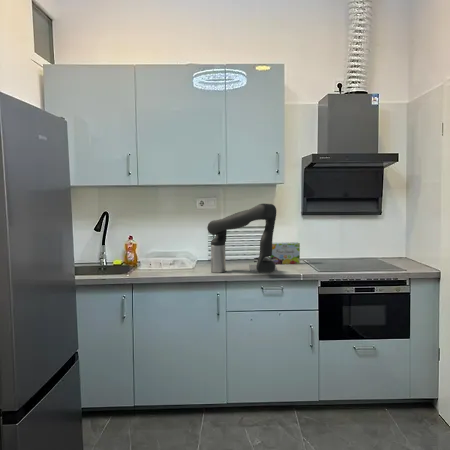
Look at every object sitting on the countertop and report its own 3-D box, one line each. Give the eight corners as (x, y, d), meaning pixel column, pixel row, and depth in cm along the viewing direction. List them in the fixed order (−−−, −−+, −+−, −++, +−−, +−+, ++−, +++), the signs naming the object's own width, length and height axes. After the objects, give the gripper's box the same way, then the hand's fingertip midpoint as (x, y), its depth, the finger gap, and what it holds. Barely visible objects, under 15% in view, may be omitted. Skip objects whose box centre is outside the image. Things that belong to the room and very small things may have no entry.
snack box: (270, 264, 300) (270, 243, 299) (268, 263, 305) (268, 242, 304) (299, 264, 301) (299, 242, 300) (298, 262, 307) (297, 241, 306)
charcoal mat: (249, 272, 270) (249, 271, 270) (249, 265, 298) (249, 264, 298) (278, 272, 269) (278, 271, 269) (275, 265, 297) (275, 264, 297)
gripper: (275, 256, 260) (273, 252, 277) (253, 256, 260) (252, 252, 278) (275, 268, 260) (273, 263, 278) (253, 268, 261) (253, 263, 278)
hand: (263, 258), depth 278 cm, fingers closed
